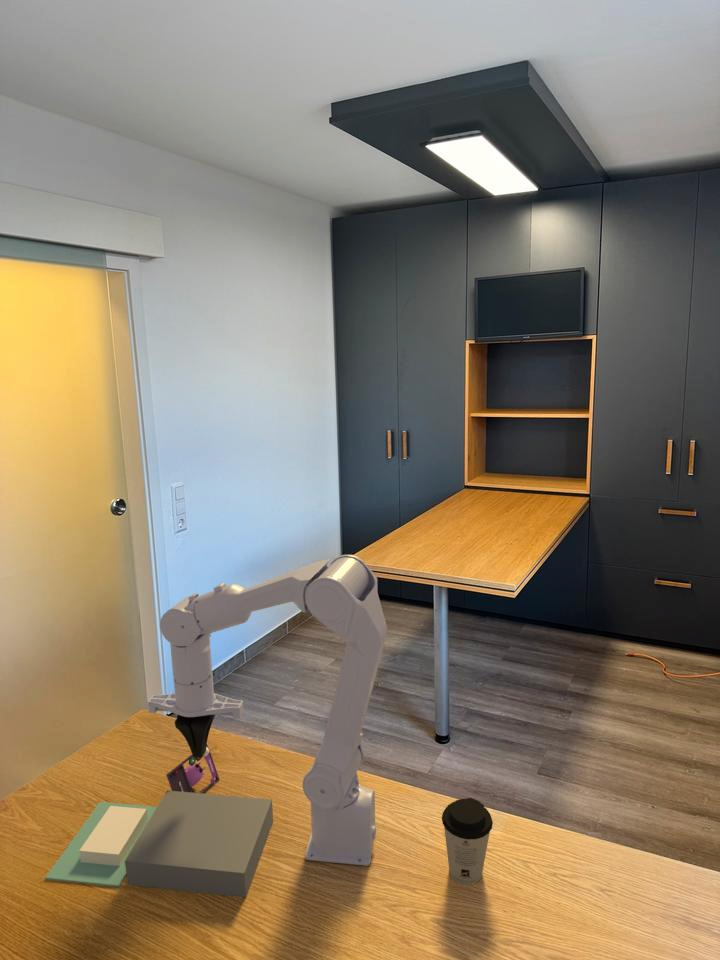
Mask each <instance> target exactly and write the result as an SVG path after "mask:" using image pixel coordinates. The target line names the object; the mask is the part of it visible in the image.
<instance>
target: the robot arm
mask: <svg viewBox="0 0 720 960" xmlns="http://www.w3.org/2000/svg"><path fill="white" fill-rule="evenodd" d="M330 561H331V558H328V559H321V560H319V561H316V562H313V563H311V564H308V565H305V566H302V567H300V568H297V569H295V570H292V571H289V572H287V573H284V574H281V575H278V576H276V577H274V578H270V579H268V580H266V581H263V582H260V583H257V584H255V585H252V586H251V587H248V588H244V587H243V585H239V584H237V583H233V584H229V585H227V584H226V582H222V583H219V584H217V585H216V586H215V587H214V588H213V590H212V591H209V592H206V593H203V594H199V593H197V592H196V593H193V594H191V595H189V596H186V597H185V598H183V599H182V600H180V601H179V602H178V603H176V604H175V605H174V606H172V607H171V608H170V609H167V611H166V612H165V613H163V615H162V616H161V617H160V621H159V629H160V632H161V634H162V636H163V637H164V639H165V640H166V641H167V642H168V643H169V645H170V656H171V658H170V659H171V665H172V667H171V668H172V676H173V677H172V678H173V687H174V693H166V694H152V696H151V697H150V698H149V700H147V709H148V713H149V714H155V713H157V711H158V712H169V713H173V714H174V715H175V714H176V715H177V716H176V719H175V721H174V726H175V728H176V729H177V730H178V731H179V732H180V733H181V735H182V736H183V738H184V739H185V741H186V743H187V745H188V747H189V749H190V751H191V755H192V754H193V757H194V758H201V759H202V758H203V757H204V756H203V755H204V753H205V751H206V746H207V745H208V738H209V735H210V730H211V727H212V725H213V721H214V719H215V717H216V716H227V717H228V716H233V719H237V720H240V719H241V718H242V716H243V714H244V713H245V712H244V709H245V708H244V700H242V699H241V700H238V699H235V698H231V697H227V696H224V695H220V694H219V693H215V689H214V675H213V674H214V673H213V663H212V662H213V661H212V649H211V640H210V639H211V636H212V634H214V633H216V632H219V631H223V630H225V629H229V628H231V627H235V626H239V625H242V624H245V623H246V622H248V620H249V618H250V617H251V615H252V613H253V612H257V611H259V610H265V609H268V608H273V607H276V606H280V605H283V604H287V603H294V605H295V606H297V608H298V609H299V610H300V611H301V612H303V613H306V612H308V611H309V613H310V614H311V615H312V616H313V617H314V618H315V619H316V620H317V621H319V622H320V623H322V625H324V626H325V627H327V628H328V629H329V630H330V631H331V632H332V633H334V635H336V636H338V637H339V638H340V639H341V640H342V641H344V642H346V645H345V650H344V654H343V658H342V662H341V666H340V669H339V675H338V679H337V683H336V687H335V690H334V695H333V699H332V702H331V703H332V704H331V706H330V707H331V708H330V711H329V716H328V720H327V723H326V727H325V733H324V736H323V739H322V741H321V744H320V746H319V749H318V751H317V754H316V756H315V759H314V761H313V764H312V765H311V767H310V769H309V770H308V771H307V772H306V773H305V774H304V777H303V779H302V784H301V785H302V790H303V793H304V795H305V797H306V798H307V800H309V801H308V802H310V822H311V831H310V836H309V839H308V843H307V847H306V850H305V854H304V859H305V860H306V861H317V862H325V863H326V862H327V863H336V864H347V865H357V866H367V867H368V866H369V865H370V864H371V862H372V861H371V860H372V854H373V847H374V842H375V840H376V836H377V835H376V834H377V832H376V831H377V827H376V826H377V825H376V797H375V796H376V794H375V790H373V789H370V788H367V787H364V786H363V785H361V784H360V782H359V778H358V770H359V768H360V767H361V765H362V764H363V761H364V758H365V754H364V753H365V752H364V749H363V745H362V743H363V737H364V733H362V730H363V726H364V722H365V719H366V714H367V710H368V708H369V703H370V699H371V697H372V691H373V688H374V684H375V680H376V677H377V673H378V670H379V667H380V665H379V664H380V661H381V657H382V654H383V650H384V647H385V644H386V643H385V642H386V639H387V634H388V626H387V622H386V618H385V614H384V612H383V611H384V610H383V607H382V603H381V600H380V597H379V594H378V577H377V576H376V575H375V574H374V572H373V571H372V569H371V568H370V567H369V565H368V564H367V563H366V562H365V561H364V560H363V559H362V558H361V557H358V556H356V555H354V554H342V555H339V556H337V557H336V558H334V560H333V561H332V562H331V563H330V565H329V566H328V564H329V562H330Z"/></svg>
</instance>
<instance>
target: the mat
mask: <svg viewBox="0 0 720 960" xmlns="http://www.w3.org/2000/svg"><path fill="white" fill-rule="evenodd" d="M110 806H118V807H129V808H141V809H147V816H148V821H149V820H150V818H151V816H152V815H153V813H154V811H155V810H156V808H157V806H153V805H139V804H126V803H118V802H117V803H116V802H105V801H103V802H102V801H99V803H98V804H97V805H96V807H95V808H94V810H93V811H92V812H91V814H90V815H89V817H87V819H86V821H85V822H84V823H83V825H82V826H81V828H80V829H79V830H78V831H77V833H76V834H75V836H74V837H73V839H72V840H71V841H70V843H69V844H68V846H67V847H66V848H65V849H64V851H63V852H62V854H61V855H60V856H59V858H58V859H57V861H56V862H55V863H54V865H53V866H52V868H51V869H50V870H49V872H48V873H47V874H46V876H45V877H44V879H45V880H50V881H58V882H67V883H76V884H86V885H95V886H106V887H114V888H120V887H121V885H122V883H123V882H124V879H125V878H126V877H127V875H126V867H125V860H126V858H127V856H128V855H129V853H130V851H131V850H132V848H133V846H134V845H135V843H136V841H137V840H138V838H139V836H140V835H141V833H142V831H143V830H144V828H145V826H146V825H147V823H148V821H147V822H146V824H145V826H144V827H143V829H142V831H141V832H140V834H139V836H138V837H137V839H136V841H135V842H134V844H133V846H132V847H131V849H130V851H129V852H128V854H127V856H126V857H125V859H124V861H123V862H122V864H121V865H120V866H113V865H104V864H94V863H84V862H81V859H80V852H79V850H80V849H81V847H82V846H83V845H84V843H85V842H86V840H87V839H88V837H89V836H90V835H91V833H92V832H93V830H94V829H95V827H96V826H97V824H98V823H99V822H100V820H101V819H102V817H103V816H104V814H105V813H106V812H107V810H108V809H109V807H110Z"/></svg>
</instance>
